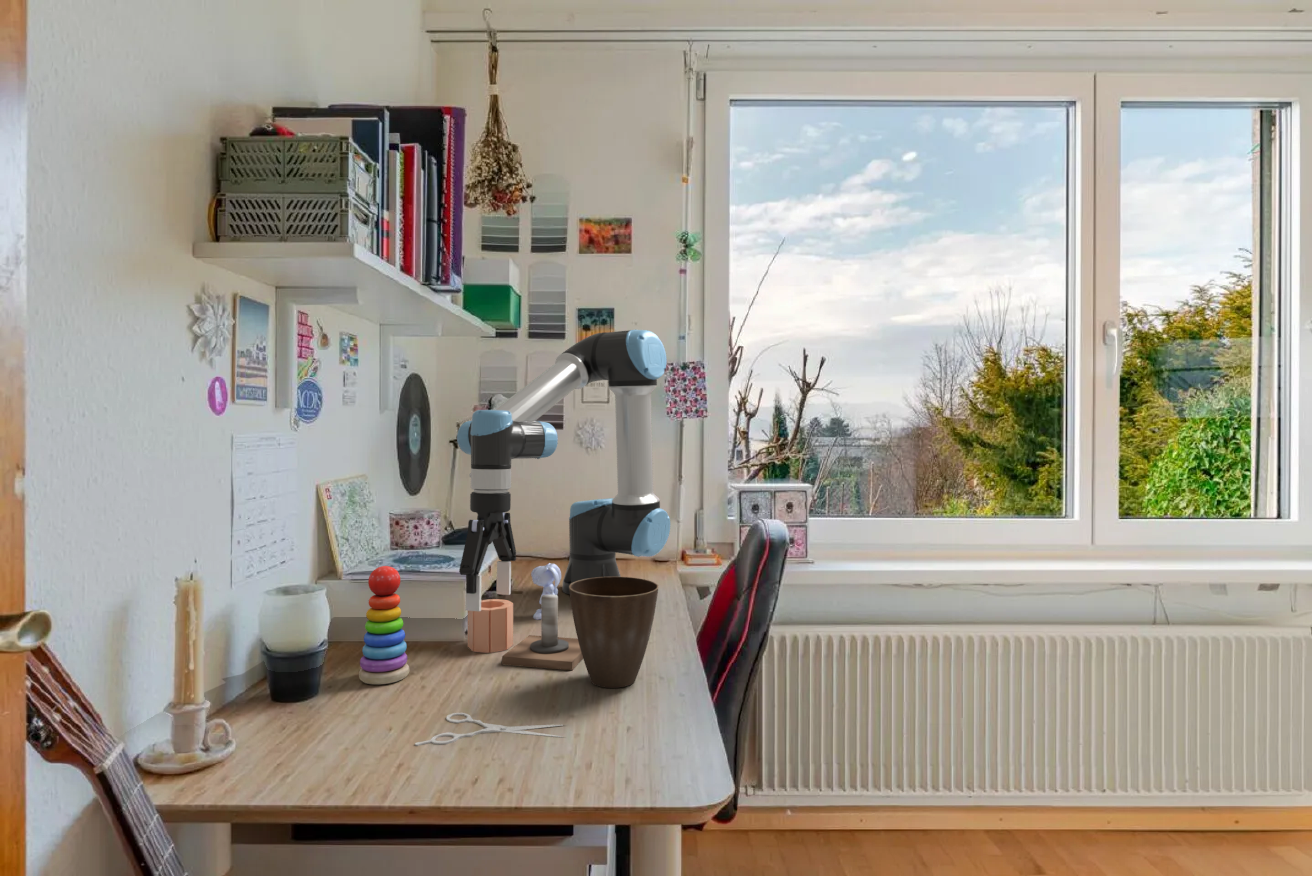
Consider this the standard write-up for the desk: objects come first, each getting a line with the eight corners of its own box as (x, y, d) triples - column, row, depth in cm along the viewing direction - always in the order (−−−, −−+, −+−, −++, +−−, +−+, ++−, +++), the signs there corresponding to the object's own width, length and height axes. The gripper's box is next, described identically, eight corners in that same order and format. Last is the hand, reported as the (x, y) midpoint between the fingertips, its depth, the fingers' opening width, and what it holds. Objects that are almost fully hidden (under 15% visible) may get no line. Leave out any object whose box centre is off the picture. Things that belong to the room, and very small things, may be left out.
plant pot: (573, 664, 130) (573, 575, 130) (657, 665, 130) (658, 575, 130) (563, 696, 115) (564, 595, 115) (658, 697, 116) (659, 596, 115)
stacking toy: (418, 677, 123) (418, 566, 123) (372, 690, 118) (372, 574, 117) (395, 666, 129) (395, 560, 128) (350, 677, 123) (350, 566, 122)
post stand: (529, 642, 143) (529, 586, 143) (593, 647, 140) (593, 590, 140) (502, 664, 130) (502, 602, 130) (572, 670, 128) (572, 607, 127)
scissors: (439, 712, 109) (574, 712, 108) (439, 717, 109) (574, 717, 108) (414, 744, 98) (563, 745, 98) (414, 750, 98) (563, 750, 98)
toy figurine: (533, 612, 165) (533, 559, 165) (562, 612, 165) (562, 559, 165) (528, 620, 158) (528, 565, 158) (557, 620, 158) (558, 565, 158)
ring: (480, 638, 145) (480, 598, 145) (518, 640, 144) (518, 600, 144) (461, 650, 138) (461, 608, 137) (501, 653, 136) (501, 611, 136)
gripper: (499, 485, 153) (497, 586, 153) (440, 495, 128) (438, 616, 129) (533, 486, 151) (531, 589, 152) (480, 497, 127) (478, 619, 127)
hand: (489, 602), depth 140 cm, fingers open, 13 cm apart
